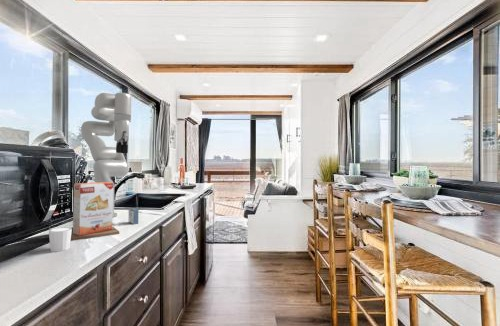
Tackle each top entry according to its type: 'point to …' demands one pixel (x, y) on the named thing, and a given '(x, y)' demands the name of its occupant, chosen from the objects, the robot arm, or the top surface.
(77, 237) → the walnut board
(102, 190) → the cracker box
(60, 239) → the white short tapered cylinder
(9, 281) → the top surface
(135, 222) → the twin grey pillars
